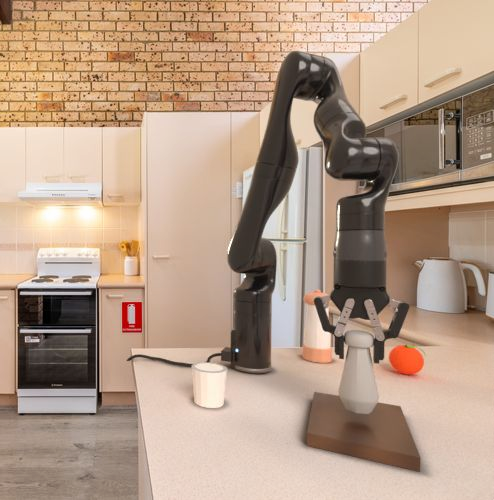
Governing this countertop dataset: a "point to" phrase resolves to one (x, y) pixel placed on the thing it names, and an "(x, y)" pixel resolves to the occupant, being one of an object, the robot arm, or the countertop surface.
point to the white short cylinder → (209, 384)
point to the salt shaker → (358, 374)
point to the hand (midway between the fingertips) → (358, 359)
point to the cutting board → (362, 432)
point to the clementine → (406, 359)
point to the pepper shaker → (315, 332)
